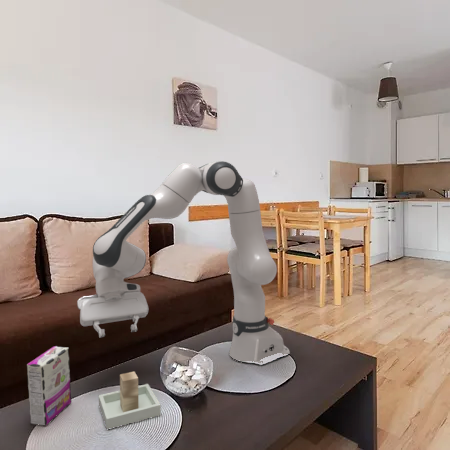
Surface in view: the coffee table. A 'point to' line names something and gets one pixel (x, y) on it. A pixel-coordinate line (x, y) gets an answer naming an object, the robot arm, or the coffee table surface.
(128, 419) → the tray
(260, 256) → the robot arm
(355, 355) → the coffee table surface
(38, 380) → the candy bar box
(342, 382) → the coffee table surface
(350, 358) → the coffee table surface
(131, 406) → the maple block
